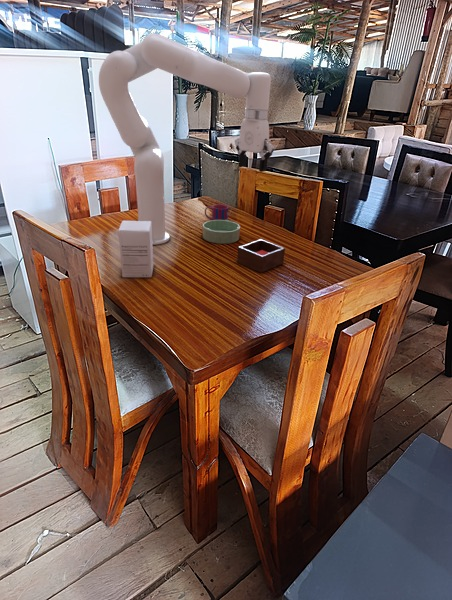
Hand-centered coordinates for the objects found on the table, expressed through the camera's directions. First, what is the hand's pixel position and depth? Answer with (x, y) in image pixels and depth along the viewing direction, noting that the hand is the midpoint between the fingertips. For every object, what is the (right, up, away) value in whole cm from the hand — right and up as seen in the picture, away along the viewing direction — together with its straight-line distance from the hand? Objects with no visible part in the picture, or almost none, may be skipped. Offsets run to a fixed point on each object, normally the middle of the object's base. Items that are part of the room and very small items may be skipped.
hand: (252, 168), depth 140 cm
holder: (+2, -34, -6) cm, 34 cm away
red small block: (+2, -33, -6) cm, 34 cm away
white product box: (-37, -38, -16) cm, 55 cm away
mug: (-13, -13, +29) cm, 35 cm away
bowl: (-11, -22, +14) cm, 28 cm away
